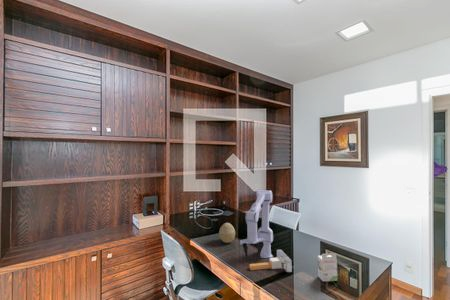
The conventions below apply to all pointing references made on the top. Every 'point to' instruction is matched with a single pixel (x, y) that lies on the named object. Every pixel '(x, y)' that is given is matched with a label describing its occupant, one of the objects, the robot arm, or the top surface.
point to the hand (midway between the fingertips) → (252, 255)
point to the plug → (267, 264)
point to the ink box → (327, 267)
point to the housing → (285, 260)
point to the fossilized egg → (227, 233)
